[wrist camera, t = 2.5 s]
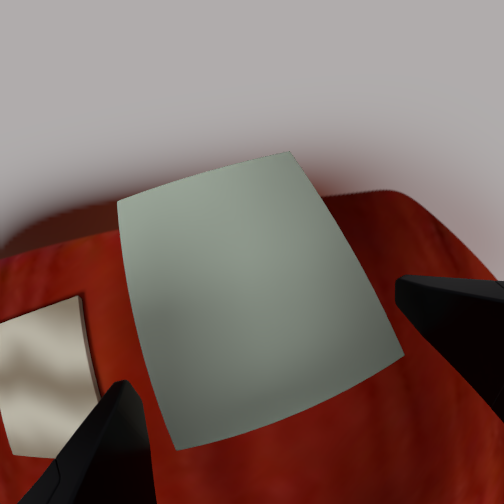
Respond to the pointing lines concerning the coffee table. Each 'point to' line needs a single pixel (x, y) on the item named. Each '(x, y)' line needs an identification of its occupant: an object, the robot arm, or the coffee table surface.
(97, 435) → the robot arm
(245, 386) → the bulging sage box
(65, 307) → the birch coaster
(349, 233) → the coffee table surface
